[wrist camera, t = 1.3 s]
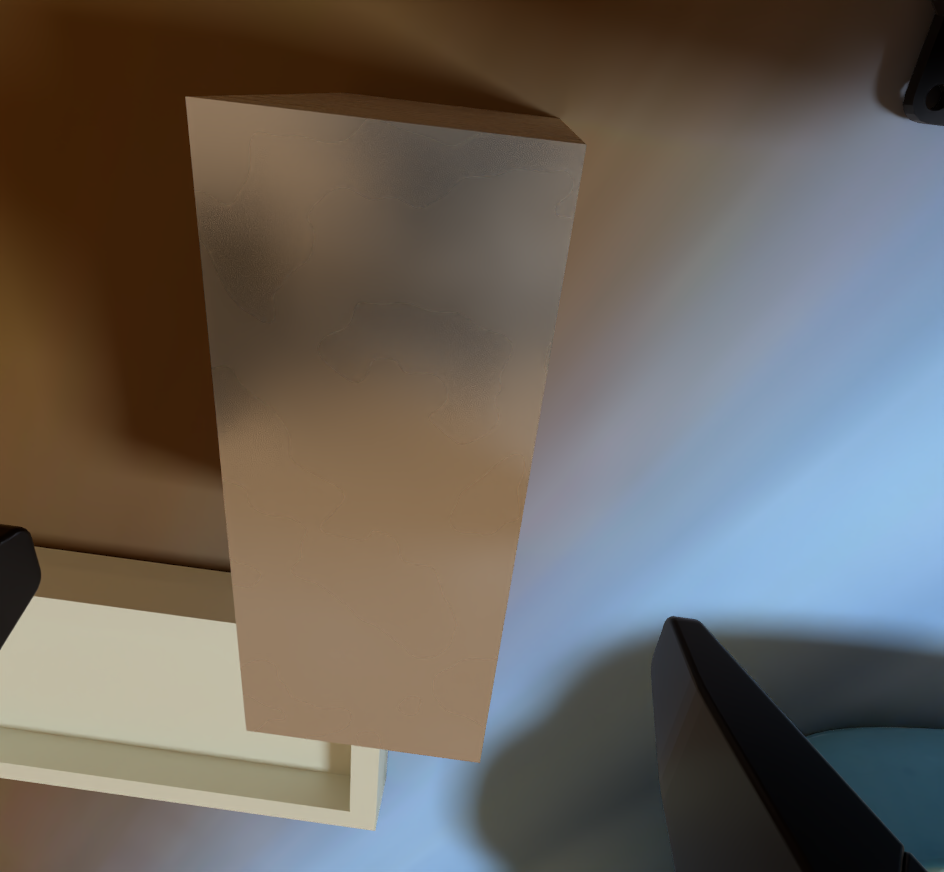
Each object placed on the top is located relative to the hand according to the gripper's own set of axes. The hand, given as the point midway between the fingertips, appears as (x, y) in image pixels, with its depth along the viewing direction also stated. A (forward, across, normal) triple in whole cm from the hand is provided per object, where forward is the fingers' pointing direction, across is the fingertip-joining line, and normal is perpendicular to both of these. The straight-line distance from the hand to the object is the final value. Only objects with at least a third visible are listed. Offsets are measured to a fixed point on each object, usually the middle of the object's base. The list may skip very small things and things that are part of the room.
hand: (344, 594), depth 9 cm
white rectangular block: (+10, 0, 0) cm, 10 cm away
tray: (+10, +10, +14) cm, 20 cm away
